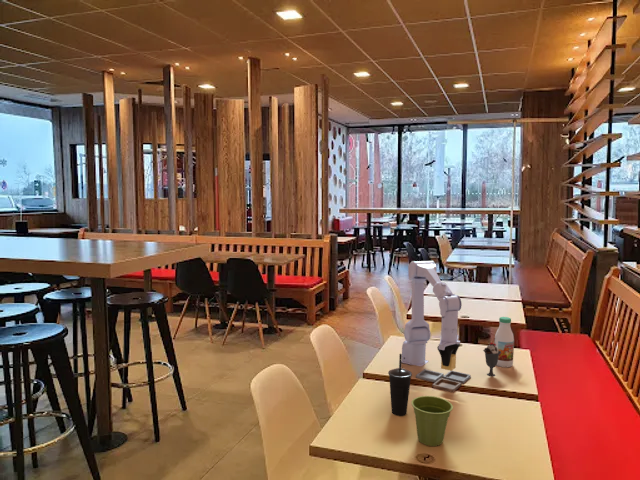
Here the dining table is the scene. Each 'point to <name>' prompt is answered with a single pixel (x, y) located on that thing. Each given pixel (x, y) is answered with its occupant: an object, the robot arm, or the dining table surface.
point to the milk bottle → (505, 342)
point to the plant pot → (431, 418)
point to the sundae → (491, 357)
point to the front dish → (446, 385)
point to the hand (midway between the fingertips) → (448, 363)
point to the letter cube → (452, 363)
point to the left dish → (429, 375)
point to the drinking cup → (399, 389)
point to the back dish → (457, 376)
